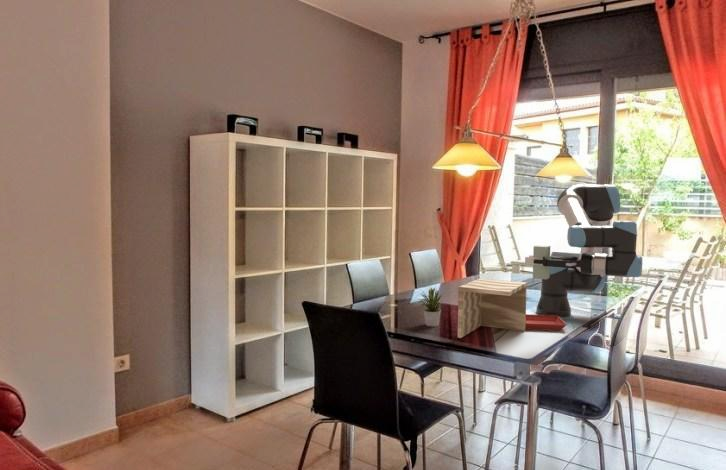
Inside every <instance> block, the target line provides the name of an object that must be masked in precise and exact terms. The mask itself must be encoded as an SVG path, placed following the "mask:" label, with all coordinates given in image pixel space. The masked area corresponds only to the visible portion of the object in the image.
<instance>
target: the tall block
mask: <svg viewBox="0 0 726 470" xmlns="http://www.w3.org/2000/svg"><path fill="white" fill-rule="evenodd" d="M532 249H533V251H532V252H533V253H532V256H533V257H537V258H543V257H545V259H550V256H551V245H542V244H541V245H539V244H538V245H537V244H535V245H534V246H533V248H532ZM549 277H550V267H549V266H546V267H545V266H543V265H532V279H536V280H537V279H538V280H541V279H548V278H549Z"/></svg>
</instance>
